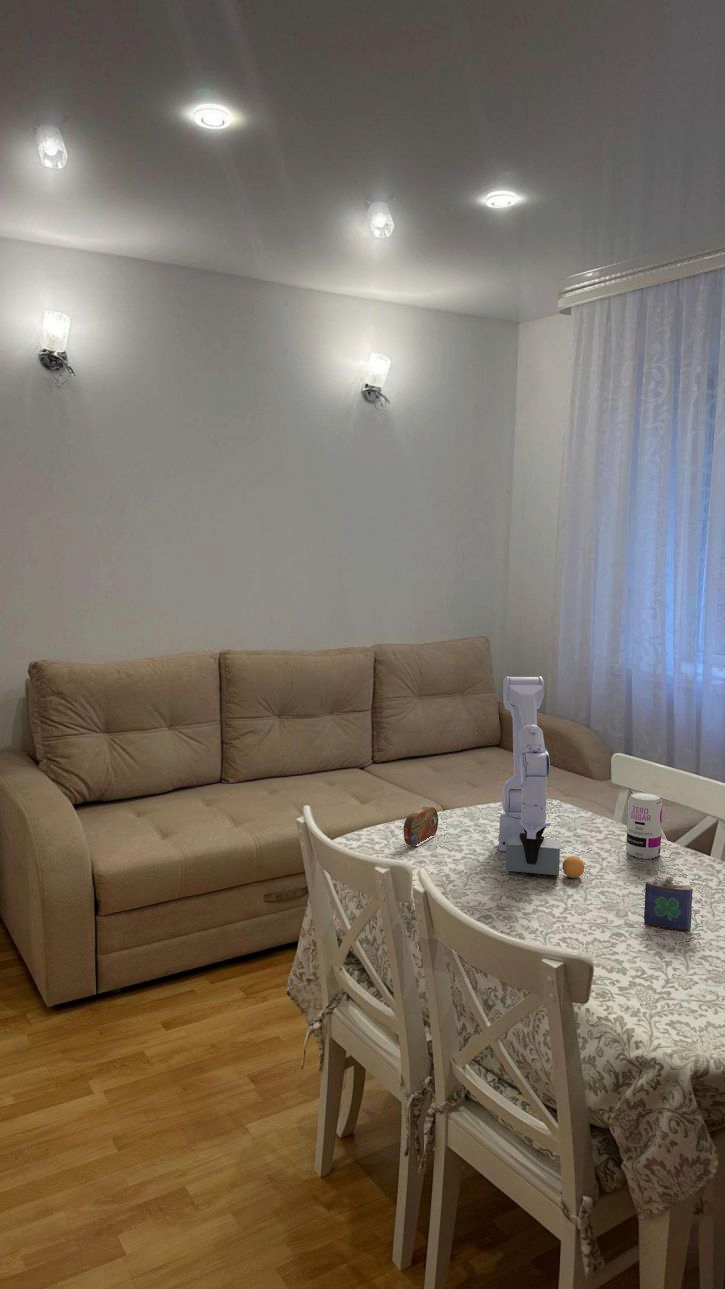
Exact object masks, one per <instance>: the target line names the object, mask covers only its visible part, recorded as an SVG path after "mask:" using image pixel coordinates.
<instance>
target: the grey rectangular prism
mask: <svg viewBox="0 0 725 1289" xmlns="http://www.w3.org/2000/svg"><path fill="white" fill-rule="evenodd" d="M505 852H506V854H505V855H506V856H505V871H506V872H519V873H529V874H532V873H533V874H543V875H553V876H560V863H561V862H560V859H561V858H560V857H561V855H560V854H561V839H556V838H555V839H554V838H544V840H543V842H542V844H541V846H540V849H539V853H538V858H537V862H536V864H527V862H526V857H525V851H524V847H523V844H522V842H521V840H520V837H519V836H508V840H507V844H506V851H505Z"/></svg>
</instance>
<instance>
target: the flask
mask: <svg viewBox="0 0 725 1289" xmlns="http://www.w3.org/2000/svg"><path fill="white" fill-rule="evenodd" d="M665 879H666V880H664V881H661V880H658V881H657V879H654V880H648V881H646V882H645V888H644V889H645V891H644V912H643V922H644V923H643V925H645V926H646V927H651V928H656V929H661V930H668V931H675V932H676V931H677V932H687V933H688V932H690V931H691V929H692V915H693V914H692V912H693V911H692V910H693V909H692V908H693V891H694V890H693V888H692V887H691V886H689V885H681V884H674V883H673V881H674V877H673V876H666V878H665Z"/></svg>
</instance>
